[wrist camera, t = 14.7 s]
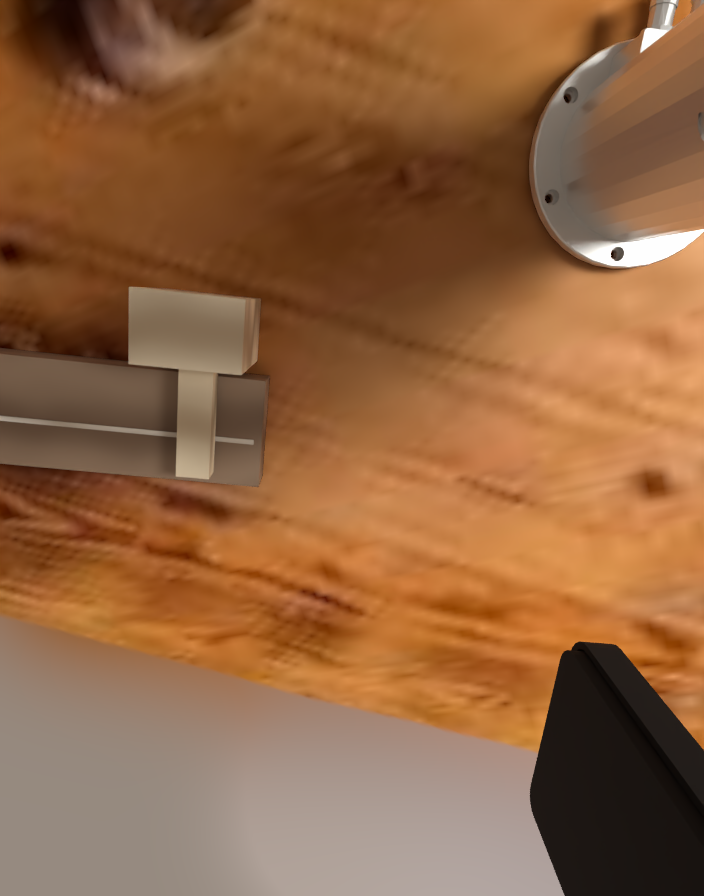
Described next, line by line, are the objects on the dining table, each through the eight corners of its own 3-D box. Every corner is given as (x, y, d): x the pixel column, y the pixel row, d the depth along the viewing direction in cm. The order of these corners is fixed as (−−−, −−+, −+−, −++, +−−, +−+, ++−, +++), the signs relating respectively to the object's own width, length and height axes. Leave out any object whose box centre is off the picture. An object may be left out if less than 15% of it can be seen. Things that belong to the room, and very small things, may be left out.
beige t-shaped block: (166, 288, 36) (128, 286, 29) (261, 298, 36) (245, 299, 30) (163, 454, 39) (127, 487, 32) (251, 462, 39) (234, 496, 32)
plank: (-108, 336, 36) (-140, 339, 34) (269, 375, 38) (265, 381, 35) (-98, 442, 38) (-127, 452, 35) (262, 475, 39) (258, 487, 37)
